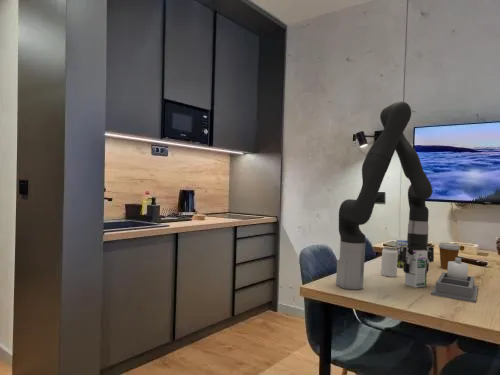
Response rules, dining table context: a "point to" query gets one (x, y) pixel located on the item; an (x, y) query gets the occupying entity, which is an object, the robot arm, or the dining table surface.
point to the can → (389, 262)
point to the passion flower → (398, 259)
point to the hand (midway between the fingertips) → (415, 272)
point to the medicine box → (401, 244)
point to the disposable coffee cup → (448, 253)
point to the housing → (456, 283)
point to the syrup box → (417, 269)
